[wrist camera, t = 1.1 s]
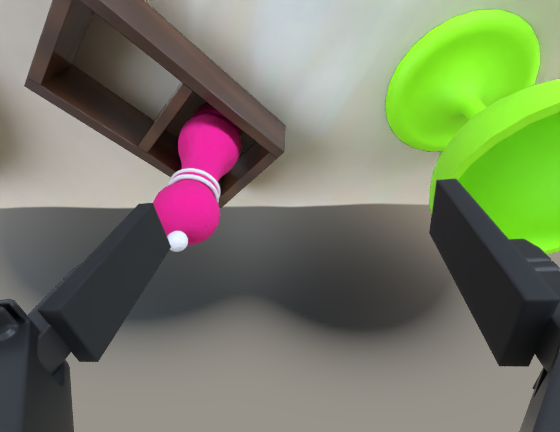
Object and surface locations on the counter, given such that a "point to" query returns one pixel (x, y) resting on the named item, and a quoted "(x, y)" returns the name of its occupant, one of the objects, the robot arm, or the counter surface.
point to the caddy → (152, 134)
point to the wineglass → (485, 119)
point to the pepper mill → (198, 178)
